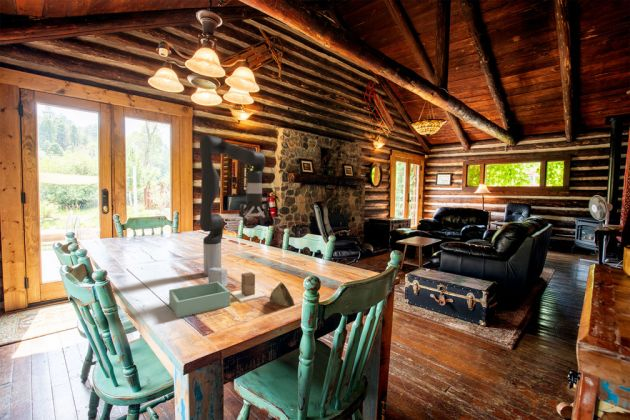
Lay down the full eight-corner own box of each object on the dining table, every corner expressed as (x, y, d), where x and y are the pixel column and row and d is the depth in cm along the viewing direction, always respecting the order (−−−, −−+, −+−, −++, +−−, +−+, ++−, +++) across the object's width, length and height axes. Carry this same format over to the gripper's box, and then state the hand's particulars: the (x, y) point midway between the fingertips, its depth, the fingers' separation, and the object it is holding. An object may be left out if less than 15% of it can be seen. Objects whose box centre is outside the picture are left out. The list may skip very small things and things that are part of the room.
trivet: (230, 293, 130) (230, 292, 130) (255, 288, 137) (255, 287, 137) (240, 302, 121) (240, 300, 121) (266, 296, 128) (266, 295, 128)
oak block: (241, 293, 129) (241, 273, 129) (250, 291, 132) (250, 272, 131) (245, 296, 126) (245, 276, 125) (254, 294, 128) (254, 274, 128)
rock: (262, 296, 122) (270, 301, 113) (273, 278, 125) (281, 282, 116) (281, 307, 126) (290, 313, 117) (292, 290, 129) (301, 295, 120)
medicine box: (227, 286, 140) (227, 268, 139) (221, 289, 135) (221, 271, 135) (214, 284, 142) (214, 267, 141) (208, 286, 138) (208, 269, 137)
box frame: (169, 304, 117) (169, 289, 117) (218, 294, 129) (218, 281, 128) (176, 318, 105) (176, 302, 105) (230, 305, 117) (230, 291, 116)
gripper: (264, 192, 147) (263, 223, 148) (237, 192, 138) (237, 225, 140) (270, 192, 141) (270, 225, 142) (243, 192, 132) (242, 227, 134)
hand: (253, 225), depth 141 cm, fingers open, 8 cm apart
